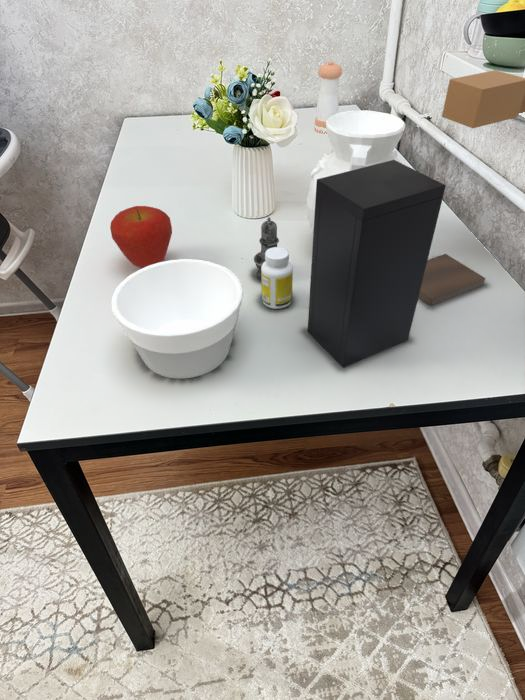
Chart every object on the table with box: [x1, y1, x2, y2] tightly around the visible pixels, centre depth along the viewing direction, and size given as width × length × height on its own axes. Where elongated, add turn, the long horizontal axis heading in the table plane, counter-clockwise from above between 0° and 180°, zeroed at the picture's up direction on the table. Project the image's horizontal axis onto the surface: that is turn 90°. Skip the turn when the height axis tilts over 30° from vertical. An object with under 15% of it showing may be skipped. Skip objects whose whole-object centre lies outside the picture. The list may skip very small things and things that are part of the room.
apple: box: [109, 205, 173, 269], centre depth 93 cm, size 11×11×12 cm
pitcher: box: [306, 109, 406, 234], centre depth 92 cm, size 19×18×25 cm
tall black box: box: [307, 160, 447, 368], centre depth 72 cm, size 10×13×26 cm
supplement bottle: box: [261, 246, 294, 310], centre depth 85 cm, size 5×5×10 cm
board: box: [418, 253, 486, 307], centre depth 91 cm, size 10×13×2 cm
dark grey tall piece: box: [253, 216, 280, 282], centre depth 90 cm, size 6×6×12 cm
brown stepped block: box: [441, 69, 525, 129], centre depth 72 cm, size 6×19×5 cm, turn 119°
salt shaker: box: [314, 60, 343, 135], centre depth 148 cm, size 7×7×19 cm
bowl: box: [110, 258, 244, 380], centre depth 75 cm, size 19×19×11 cm
